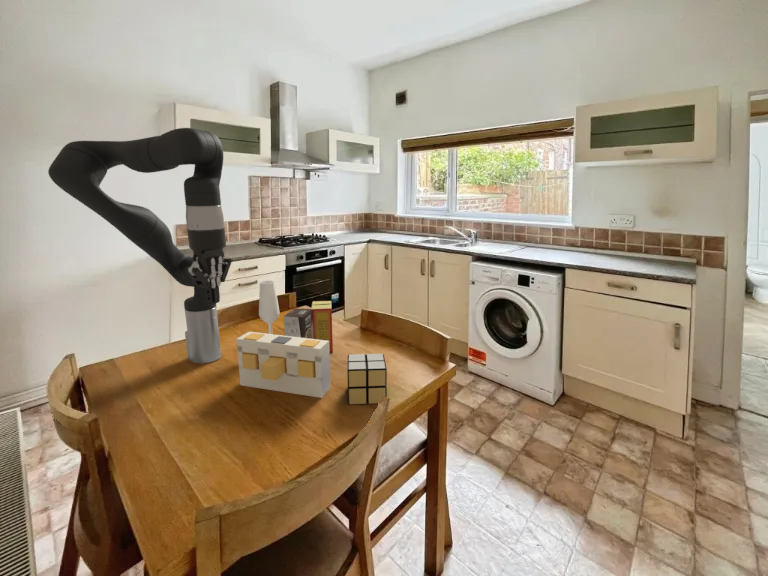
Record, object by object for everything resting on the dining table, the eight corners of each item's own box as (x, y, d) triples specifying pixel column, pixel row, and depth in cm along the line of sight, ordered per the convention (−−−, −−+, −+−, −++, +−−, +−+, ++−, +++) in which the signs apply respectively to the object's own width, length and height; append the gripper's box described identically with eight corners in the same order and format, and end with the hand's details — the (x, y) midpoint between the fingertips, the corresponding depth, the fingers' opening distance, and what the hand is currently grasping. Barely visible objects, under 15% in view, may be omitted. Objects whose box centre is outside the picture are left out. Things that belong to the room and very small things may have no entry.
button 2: (261, 378, 108) (260, 364, 107) (273, 369, 113) (272, 355, 112) (275, 380, 107) (274, 366, 106) (286, 371, 112) (285, 357, 111)
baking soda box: (332, 352, 139) (331, 307, 135) (313, 353, 139) (311, 308, 135) (332, 342, 148) (331, 299, 145) (314, 343, 148) (312, 300, 144)
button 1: (242, 368, 114) (241, 354, 113) (254, 359, 119) (253, 346, 118) (255, 369, 113) (254, 356, 112) (267, 361, 118) (266, 348, 117)
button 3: (298, 376, 109) (297, 362, 108) (308, 366, 115) (307, 353, 114) (312, 378, 108) (311, 363, 107) (321, 368, 113) (321, 355, 112)
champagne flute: (257, 353, 139) (252, 283, 133) (267, 345, 145) (262, 279, 139) (276, 354, 137) (271, 285, 131) (285, 347, 144) (281, 280, 138)
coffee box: (304, 366, 129) (302, 317, 125) (285, 364, 130) (282, 315, 126) (315, 354, 138) (313, 308, 134) (297, 353, 139) (294, 307, 135)
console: (240, 385, 117) (236, 337, 113) (252, 376, 122) (249, 330, 119) (321, 397, 110) (319, 347, 106) (330, 387, 116) (329, 339, 112)
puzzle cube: (348, 387, 116) (347, 354, 114) (383, 385, 117) (383, 353, 114) (348, 405, 106) (347, 370, 104) (386, 404, 107) (386, 368, 105)
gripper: (199, 230, 83) (208, 313, 87) (239, 224, 95) (245, 296, 99) (168, 229, 85) (178, 309, 89) (211, 223, 97) (218, 294, 101)
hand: (213, 302), depth 94 cm, fingers closed
